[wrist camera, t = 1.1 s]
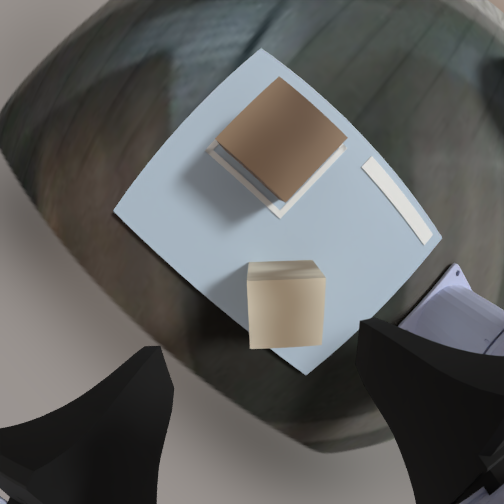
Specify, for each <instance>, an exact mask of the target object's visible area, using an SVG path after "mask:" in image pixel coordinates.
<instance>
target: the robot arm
mask: <svg viewBox="0 0 504 504" xmlns="http://www.w3.org/2000/svg"><path fill="white" fill-rule="evenodd" d="M456 272H457V274H456ZM406 330H407V331H406ZM356 367H357V369H358V372H359V374H360V377H361V379H362V381H363V384H364V386H365V387H366V389H367V391H368V392H369V394H370V396H371V397H372V399H373V401H374V402H375V404H376V406H377V407H378V409H379V411H380V412H381V414H382V415H383V417H384V419H385V420H386V422H387V424H388V425H389V427H390V429H391V431H392V433H393V435H394V437H395V440H396V442H397V444H398V447H399V449H400V452H401V454H402V457H403V460H404V462H405V465H406V468H407V471H408V474H409V477H410V481H411V484H412V488H413V491H414V496H415V500H416V504H504V310H503V309H501V308H499V307H498V306H496V305H495V304H493V303H491V302H490V301H488V300H486V299H485V298H483V297H481V296H479V295H478V294H476V293H474V292H473V291H472V290H471V288H470V286H469V284H468V282H467V280H466V278H465V276H464V274H463V272H462V271H461V269H460V267H459V265H458V264H456V263H453V264H452V265H451V266H450V267H449V268H448V270H447V271H446V272H445V274H444V275H443V276H442V277H441V278H440V280H439V281H438V282H437V283H436V284H435V286H434V287H433V288H432V289H431V290H430V292H429V293H428V294H427V295H426V296H425V297H424V298H423V300H422V301H421V302H420V303H419V304H418V305H417V306H416V307H415V308H414V309H413V311H412V312H411V313H410V314H409V315H408V316H407V317H406V318H405V319H404V320H403V321H402V322H401V323H400V324H399V325H398V327H397V326H395V325H393V324H390V323H388V322H385V321H383V320H380V319H377V318H370V319H365V320H361V321H360V323H359V336H358V346H357V356H356ZM173 395H174V386H173V383H172V380H171V378H170V375H169V372H168V369H167V366H166V363H165V360H164V356H163V353H162V350H161V347H160V346H145V347H143V348H142V349H141V350H139V351H138V352H137V353H135V354H134V355H133V356H132V357H131V358H129V359H128V360H127V361H126V362H125V363H124V364H122V365H121V366H120V367H119V368H118V369H116V370H115V371H114V372H113V373H111V374H110V375H109V376H108V377H106V378H105V379H104V380H103V381H101V382H100V383H98V384H97V385H96V386H94V387H93V388H92V389H90V390H89V391H88V392H86V393H85V394H83V395H82V396H80V397H79V398H77V399H75V400H74V401H72V402H70V403H68V404H67V405H65V406H63V407H61V408H59V409H57V410H55V411H53V412H50V413H48V414H46V415H44V416H42V417H40V418H36V419H34V420H31V421H28V422H25V423H22V424H18V425H14V426H11V427H5V428H0V488H1V489H2V490H3V491H4V492H5V493H6V494H7V495H9V496H10V498H9V501H8V502H7V501H6V500H5V499H3V498H2V497H0V504H157V503H156V502H157V482H158V470H159V463H160V458H161V453H162V449H163V445H164V441H165V436H166V433H167V428H168V425H169V420H170V416H171V412H172V405H173Z"/></svg>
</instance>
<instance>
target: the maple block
mask: <svg viewBox="0 0 504 504" xmlns="http://www.w3.org/2000/svg"><path fill="white" fill-rule="evenodd" d="M325 288H326V277H325V276H324V274H323V273H322V272H321V270H320V269H319V268H318V267H317V265H316V264H315V263H314V261H313V260H295V261H268V262H249V264H248V274H247V297H248V317H249V337H250V349H266V348H287V347H303V346H316V345H322V335H323V322H324V307H325Z"/></svg>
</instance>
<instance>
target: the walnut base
mask: <svg viewBox="0 0 504 504" xmlns="http://www.w3.org/2000/svg"><path fill="white" fill-rule="evenodd" d="M347 138H348V137H347V136H346V135H345V134H344V133H343V132H342V131H341V130H340V129H339V128H338V127H337V126H336V125H335V124H334V123H332V122H331V121H330V120H329V119H328V118H327V117H326V116H325V115H324V114H323V113H322V112H321V111H320V110H319V109H317V108H316V107H315V106H314V105H313V104H312V103H311V102H310V101H308V100H307V99H306V98H305V97H304V96H303V95H302V94H300V93H299V92H298V91H297V90H296V89H294V88H293V87H292V86H291V85H290V84H288V83H287V82H286V81H285V80H283V79H282V78H281V77H280V76H279V77H278V78H277V79H276V80H274V81H273V82H272V83H271V84H270V85H269V86H268V87H267V88H266V89H265V90H263V91H262V92H261V93H260V94H259V95H258V96H257V97H256V98H255V99H254V100H253V101H252V102H251V103H250V104H249V105H248V106H247V107H246V108H245V109H244V110H243V111H241V112H240V113H239V114H238V115H237V116H236V117H235V118H234V119H233V120H232V122H231V123H230V124H229V125H228V126H227V127H226V128H225V129H224V130H223V131H222V132H221V133H220V134H219V135H218V136H217V137H216V138H215V140H216V141H217V142H218V143H219V144H220V146H221V147H222V148H223V149H224V150H225V151H226V152H227V153H228V154H230V155H231V156H232V157H233V158H234V159H235V160H236V161H238V162H239V163H240V164H241V165H242V166H243V167H244V168H245V169H247V170H248V171H249V172H250V173H251V174H252V175H253V176H254V177H255V178H257V179H258V180H259V181H260V182H261V183H262V184H263V185H264V186H265V187H266V188H267V189H269V190H270V191H271V192H272V193H273V194H274V195H275V196H276V197H277V198H278V199H279V200H281V201H283V202H285V203H286V202H287V201H288V200H289V199H290V198H291V197H292V196H293V194H294V193H295V192H296V191H297V190H298V189H299V188H300V187H301V186H302V185H303V184H304V183H305V182H306V181H307V180H308V179H309V178H310V177H311V176H312V175H313V174H314V172H315V171H316V170H317V169H318V168H319V167H320V166H321V165H322V164H323V163H324V162H325V161H326V160H327V159H328V158H329V157H330V156H331V155H332V154H333V153H334V152H335V151H336V150H337V149H338V147H339V146H340V145H341V144H342V143H343V142H344V141H345V140H346V139H347Z"/></svg>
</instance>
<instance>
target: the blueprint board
mask: <svg viewBox="0 0 504 504" xmlns="http://www.w3.org/2000/svg"><path fill="white" fill-rule="evenodd" d="M279 76H280V77H281V78H282V79H283V80H285V81H286V82H287V83H288V84H290V85H291V86H292V87H293V88H294V89H296V90H297V91H298V92H299V93H300V94H302V95H303V96H304V97H305V98H306V99H307V100H308V101H310V102H311V103H312V104H313V105H314V106H315V107H316V108H317V109H319V110H320V111H321V112H322V113H323V114H324V115H325V116H326V117H327V118H328V119H329V120H330V121H331V122H332V123H334V124H335V125H336V126H337V127H338V128H339V129H340V130H341V131H342V132H343V133H344V134H345V135H346V136H347V137H348V138H347V139H346V140H345V141H344V142H343V143H342V144H341V145H340V146H339V147H338V149H337V150H336V151H335V152H334V153H333V154H332V155H331V156H330V157H329V158H328V159H327V160H326V161H325V162H324V163H323V164H322V165H321V166H320V167H319V168H318V169H317V170H316V171H315V172H314V174H313V175H312V176H311V177H310V178H309V179H308V180H307V181H306V182H305V183H304V184H303V185H302V186H301V187H300V188H299V189H298V190H297V191H296V192H295V193H294V194H293V196H292V197H291V198H290V199H289V200H288V201H287V202H286V203H285V202H283V201H281V200H279V199H278V198H277V197H276V196H275V195H274V194H273V193H272V192H271V191H270V190H269V189H267V188H266V187H265V186H264V185H263V184H262V183H261V182H260V181H259V180H258V179H257V178H255V177H254V176H253V175H252V174H251V173H250V172H249V171H248V170H247V169H245V168H244V167H243V166H242V165H241V164H240V163H239V162H238V161H236V160H235V159H234V158H233V157H232V156H231V155H230V154H228V153H227V152H226V151H225V150H224V149H223V148H222V147H221V146H220V144H219V143H218V142H217V141H216V140H215V138H216V137H217V136H218V135H219V134H220V133H221V132H222V131H223V130H224V129H225V128H226V127H227V126H228V125H229V124H230V123H231V122H232V120H233V119H234V118H235V117H236V116H237V115H238V114H239V113H240V112H241V111H243V110H244V109H245V108H246V107H247V106H248V105H249V104H250V103H251V102H252V101H253V100H254V99H255V98H256V97H257V96H258V95H259V94H260V93H261V92H262V91H263V90H265V89H266V88H267V87H268V86H269V85H270V84H271V83H272V82H273V81H274V80H276V79H277V78H278V77H279ZM113 211H114V212H115V213H116V214H117V215H118V216H119V217H120V218H121V219H122V220H123V221H124V222H125V223H126V224H127V225H128V226H129V227H130V228H131V229H132V230H133V231H134V232H135V233H136V234H137V235H138V236H139V237H140V238H141V239H142V240H143V241H145V242H146V243H147V244H148V245H149V246H150V247H151V248H152V249H153V250H154V251H155V252H156V253H157V254H158V255H160V256H161V257H162V258H163V259H164V260H165V261H166V262H167V263H168V264H169V265H170V266H172V267H173V268H174V269H175V270H176V271H177V272H178V273H179V274H181V275H182V276H183V277H184V278H185V279H186V280H187V281H188V282H190V283H191V284H192V285H193V286H194V287H195V288H196V289H198V290H199V291H200V292H201V293H202V294H203V295H205V296H206V297H207V298H208V299H209V300H210V301H212V302H213V303H214V304H215V305H216V306H218V307H219V308H220V309H221V310H222V311H224V312H225V313H226V314H227V315H228V316H230V317H231V318H232V319H233V320H235V321H236V322H237V323H238V324H240V325H241V326H242V327H243V328H244V329H246V330H247V331H248V332H249V317H248V297H247V274H248V264H249V262H268V261H295V260H313V261H314V263H315V264H316V265H317V267H318V268H319V269H320V270H321V272H322V273H323V274H324V276H325V277H326V288H325V307H324V322H323V335H322V345H316V346H303V347H287V348H270V349H271V350H273V351H274V352H275V353H277V354H278V355H279V356H280V357H282V358H283V359H284V360H286V361H287V362H288V363H290V364H291V365H293V366H294V367H295V368H297V369H298V370H299V371H301V372H302V373H303V374H305V375H307V374H308V373H309V372H311V371H312V370H313V369H314V368H316V367H317V366H318V365H319V364H320V363H322V362H323V361H324V360H325V359H326V358H328V357H329V356H330V355H331V354H332V353H333V352H335V351H336V350H337V349H338V348H339V347H340V346H341V345H342V344H344V343H345V342H346V341H347V340H348V339H349V338H350V337H351V336H352V335H353V334H355V333H356V332H357V331H358V330H359V323H360V321H361V320H365V319H370V318H371V317H372V316H373V315H374V314H375V313H376V312H377V311H378V310H379V309H380V308H381V307H382V306H383V305H384V304H385V303H386V302H387V301H388V300H389V299H390V298H391V297H392V296H393V295H394V294H395V293H396V292H397V290H398V289H399V288H400V287H401V286H402V285H403V284H404V283H405V282H406V281H407V279H408V278H409V277H410V276H411V275H412V274H413V273H414V272H415V270H416V269H417V268H418V267H419V266H420V265H421V263H422V262H423V261H424V260H425V259H426V257H427V256H428V255H429V254H430V252H431V251H432V250H433V249H434V247H435V246H436V245H437V244H438V242H439V241H440V240H441V239H442V237H441V235H440V233H439V232H438V230H437V229H436V227H435V226H434V224H433V223H432V221H431V220H430V218H429V217H428V216H427V214H426V213H425V211H424V210H423V208H422V207H421V206H420V204H419V203H418V202H417V200H416V199H415V197H414V196H413V195H412V193H411V192H410V191H409V190H408V188H407V187H406V186H405V184H404V183H403V182H402V181H401V179H400V178H399V177H398V176H397V174H396V173H395V172H394V171H393V170H392V168H391V167H390V166H389V165H388V164H387V162H386V161H385V160H384V159H383V158H382V157H381V155H380V154H379V153H378V152H377V151H376V150H375V149H374V148H373V146H372V145H371V144H370V143H369V142H368V141H367V140H366V139H365V138H364V137H363V136H362V135H361V134H360V133H359V132H358V130H357V129H356V128H355V127H354V126H353V125H352V124H351V123H350V122H349V121H348V120H347V119H346V118H345V117H344V116H343V115H342V114H340V113H339V112H338V111H337V110H336V109H335V108H334V107H333V106H332V105H331V104H330V103H329V102H328V101H327V100H325V99H324V98H323V97H322V96H321V95H320V94H319V93H318V92H316V91H315V90H314V89H313V88H312V87H311V86H310V85H308V84H307V83H306V82H305V81H304V80H302V79H301V78H300V77H299V76H297V75H296V74H295V73H294V72H292V71H291V70H290V69H289V68H287V67H286V66H285V65H283V64H282V63H281V62H279V61H278V60H277V59H275V58H274V57H273V56H271V55H270V54H269V53H267V52H266V51H264V50H263V49H262V48H261V49H260V50H259V51H257V52H256V53H255V54H254V55H252V56H251V57H250V58H249V59H248V60H247V61H245V62H244V63H243V64H242V65H241V66H240V67H239V68H237V69H236V70H235V71H234V72H233V73H232V74H231V75H230V76H229V77H228V78H226V79H225V80H224V81H223V82H222V83H221V84H220V85H219V86H218V87H217V88H216V89H215V90H214V91H213V92H212V93H211V94H210V95H209V96H208V97H207V98H206V99H205V100H204V101H203V102H202V103H201V104H200V105H199V106H198V107H197V108H196V109H195V110H194V111H193V112H192V113H191V114H190V115H189V116H188V118H187V119H186V120H185V121H184V122H183V123H182V124H181V125H180V126H179V127H178V128H177V130H176V131H175V132H174V133H173V134H172V135H171V136H170V138H169V139H168V140H167V141H166V142H165V143H164V145H163V146H162V147H161V148H160V149H159V151H158V152H157V153H156V154H155V155H154V157H153V158H152V159H151V160H150V162H149V163H148V164H147V165H146V167H145V168H144V169H143V170H142V172H141V173H140V174H139V176H138V177H137V178H136V180H135V181H134V182H133V184H132V185H131V186H130V188H129V189H128V190H127V192H126V193H125V195H124V196H123V197H122V199H121V200H120V202H119V203H118V204H117V206H116V207H115V209H114V210H113Z"/></svg>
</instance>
